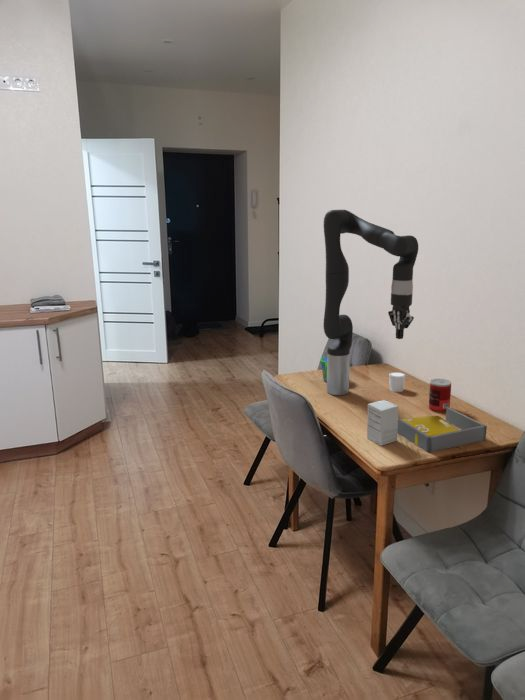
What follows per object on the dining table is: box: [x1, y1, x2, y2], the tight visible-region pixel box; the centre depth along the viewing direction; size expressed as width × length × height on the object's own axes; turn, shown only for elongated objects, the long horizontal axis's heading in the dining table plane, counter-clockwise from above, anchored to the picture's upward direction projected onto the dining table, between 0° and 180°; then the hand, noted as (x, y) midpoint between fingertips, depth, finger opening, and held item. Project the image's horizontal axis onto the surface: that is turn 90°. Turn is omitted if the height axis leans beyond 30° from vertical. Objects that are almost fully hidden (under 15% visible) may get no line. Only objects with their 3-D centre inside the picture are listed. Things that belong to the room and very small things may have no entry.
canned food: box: [428, 378, 452, 413], centre depth 199 cm, size 8×8×11 cm
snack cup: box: [319, 356, 327, 383], centre depth 236 cm, size 16×10×10 cm
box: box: [397, 407, 488, 453], centre depth 177 cm, size 18×23×5 cm
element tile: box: [401, 415, 459, 446], centre depth 177 cm, size 15×15×5 cm
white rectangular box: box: [366, 399, 399, 446], centre depth 174 cm, size 7×7×13 cm
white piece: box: [388, 371, 406, 393], centre depth 222 cm, size 7×7×7 cm
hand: (399, 338), depth 192 cm, fingers closed
